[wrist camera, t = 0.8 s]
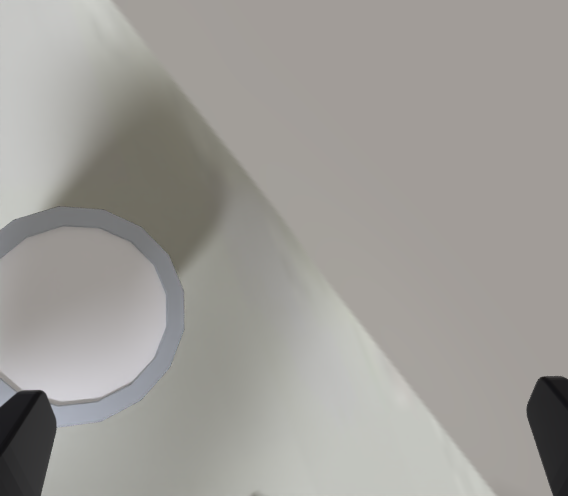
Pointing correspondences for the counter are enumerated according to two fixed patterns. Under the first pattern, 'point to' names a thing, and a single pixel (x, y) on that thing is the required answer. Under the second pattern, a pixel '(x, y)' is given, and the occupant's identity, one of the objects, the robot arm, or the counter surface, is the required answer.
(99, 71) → the counter surface
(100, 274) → the shot glass
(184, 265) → the counter surface
